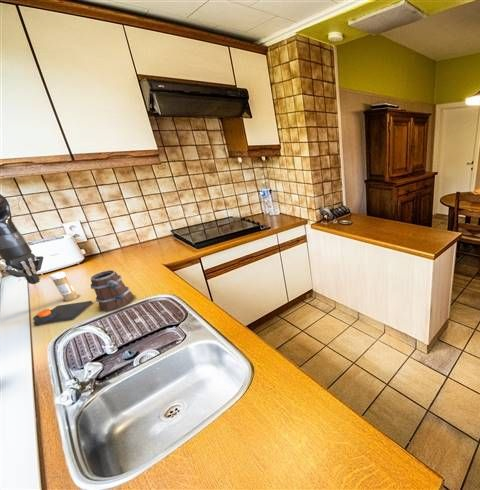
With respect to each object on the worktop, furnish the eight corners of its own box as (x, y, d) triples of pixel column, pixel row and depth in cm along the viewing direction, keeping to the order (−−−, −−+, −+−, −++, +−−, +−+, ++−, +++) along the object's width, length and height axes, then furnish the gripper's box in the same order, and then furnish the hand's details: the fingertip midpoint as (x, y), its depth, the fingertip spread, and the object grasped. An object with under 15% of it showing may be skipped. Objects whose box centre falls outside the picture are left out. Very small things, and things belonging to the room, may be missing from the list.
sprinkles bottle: (80, 294, 128) (66, 270, 123) (73, 300, 124) (58, 275, 119) (69, 296, 127) (54, 272, 122) (61, 302, 123) (46, 277, 118)
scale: (32, 326, 107) (28, 320, 106) (57, 308, 118) (53, 302, 117) (71, 320, 110) (68, 314, 109) (92, 303, 121) (89, 297, 120)
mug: (95, 307, 118) (78, 278, 112) (127, 293, 127) (113, 265, 121) (112, 316, 111) (95, 286, 105) (144, 300, 121) (131, 272, 115)
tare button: (36, 318, 108) (33, 315, 107) (43, 313, 111) (41, 309, 110) (46, 317, 108) (44, 313, 108) (54, 311, 112) (52, 308, 111)
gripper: (20, 238, 108) (43, 275, 115) (-22, 252, 96) (6, 292, 102) (39, 237, 108) (61, 274, 115) (-1, 251, 96) (26, 291, 103)
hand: (35, 283), depth 109 cm, fingers closed
